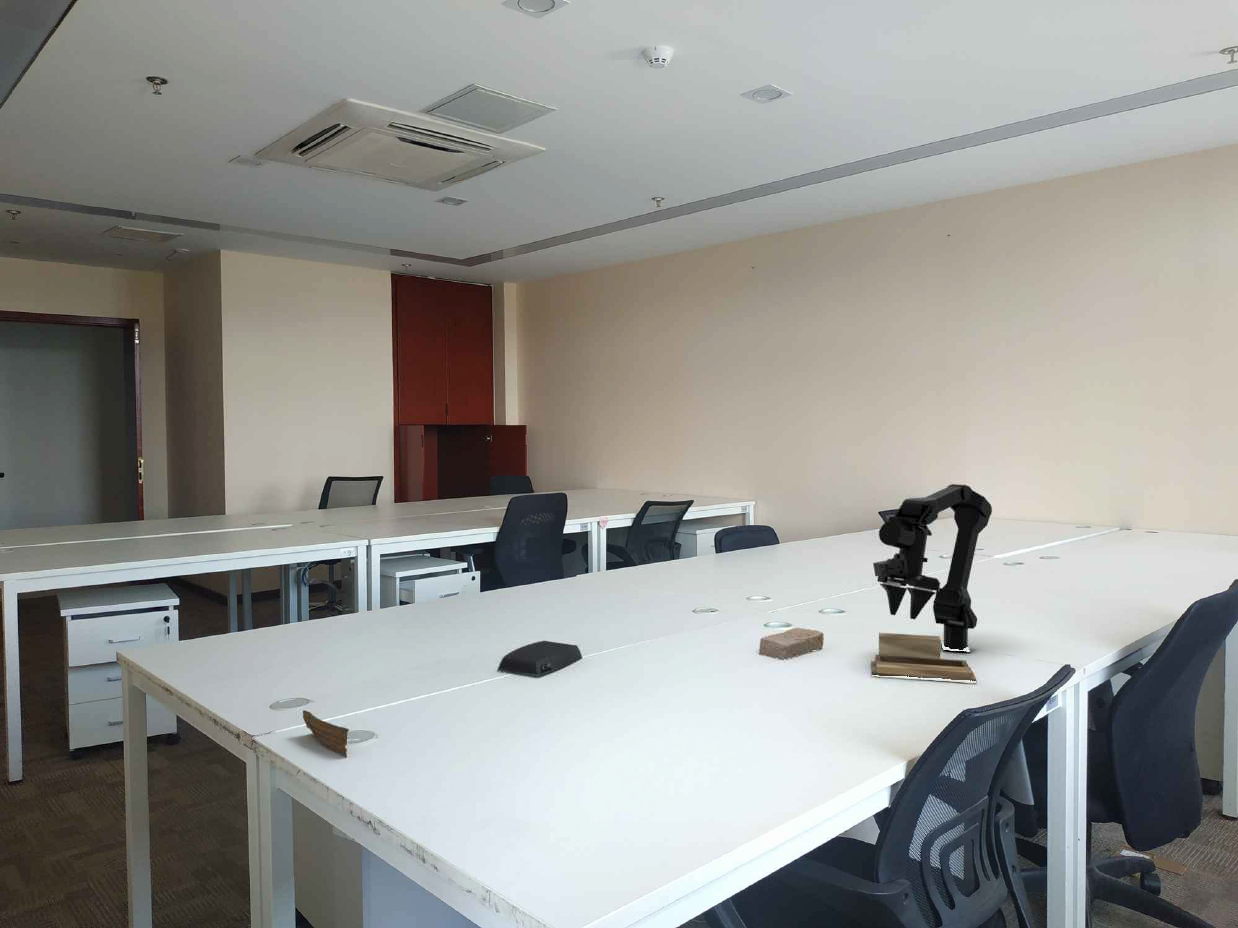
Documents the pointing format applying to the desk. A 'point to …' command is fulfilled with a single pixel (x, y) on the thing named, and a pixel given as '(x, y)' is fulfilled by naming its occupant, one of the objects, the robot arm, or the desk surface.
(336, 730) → the wood plank
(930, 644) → the oak plank
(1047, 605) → the desk surface
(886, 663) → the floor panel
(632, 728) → the desk surface
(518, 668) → the external hard drive
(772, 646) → the brick
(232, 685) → the desk surface
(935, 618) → the robot arm
